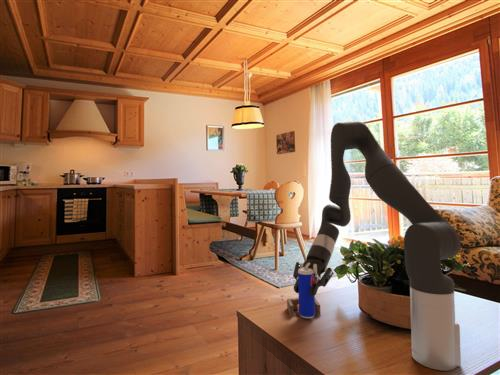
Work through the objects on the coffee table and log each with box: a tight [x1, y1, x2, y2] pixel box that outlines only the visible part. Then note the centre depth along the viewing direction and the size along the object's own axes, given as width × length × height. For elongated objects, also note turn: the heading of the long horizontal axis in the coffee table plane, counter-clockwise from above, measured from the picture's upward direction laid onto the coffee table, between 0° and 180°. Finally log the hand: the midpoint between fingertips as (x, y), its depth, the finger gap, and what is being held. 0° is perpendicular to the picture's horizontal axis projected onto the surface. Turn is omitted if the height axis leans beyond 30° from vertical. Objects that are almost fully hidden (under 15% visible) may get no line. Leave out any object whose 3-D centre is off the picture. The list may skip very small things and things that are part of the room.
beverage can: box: [297, 267, 316, 319], centre depth 98 cm, size 5×5×15 cm
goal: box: [286, 297, 321, 318], centre depth 103 cm, size 10×7×4 cm
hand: (303, 293), depth 96 cm, fingers closed on beverage can, 5 cm apart
